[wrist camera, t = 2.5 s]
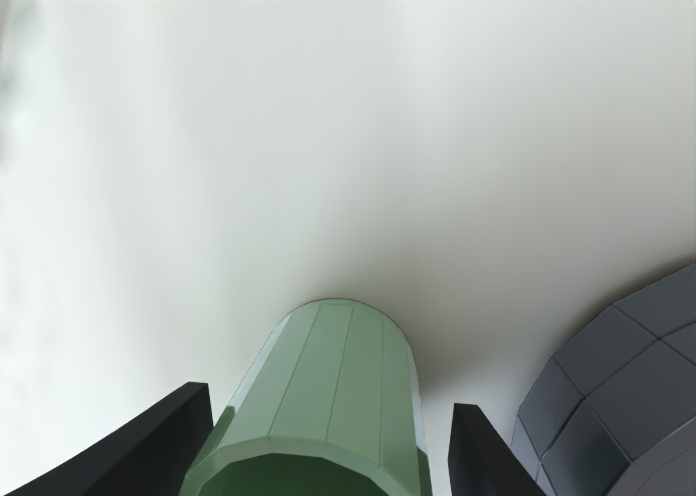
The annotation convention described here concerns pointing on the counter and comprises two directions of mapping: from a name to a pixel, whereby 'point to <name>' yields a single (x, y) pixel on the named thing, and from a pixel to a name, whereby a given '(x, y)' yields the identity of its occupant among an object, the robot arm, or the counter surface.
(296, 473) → the green cup
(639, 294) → the dark bowl
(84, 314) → the counter surface
